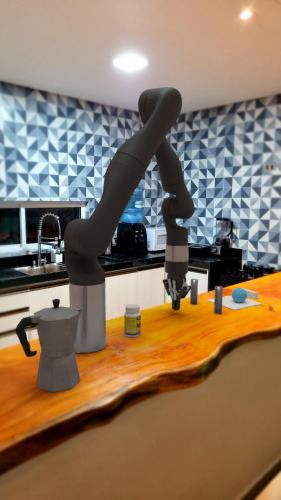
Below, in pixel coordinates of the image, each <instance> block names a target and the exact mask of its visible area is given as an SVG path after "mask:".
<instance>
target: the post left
mask: <svg viewBox="0 0 281 500" xmlns="http://www.w3.org/2000/svg"><path fill="white" fill-rule="evenodd" d="M190 286H191V289H190V291H189V293H190V294H189V295H190V296H189V297H190V298H189V303H190V305H193V306H196V305H198V295H199V290H198V287H199V279H197V278H191V279H190Z"/></svg>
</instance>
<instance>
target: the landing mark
mask: <svg viewBox="0 0 281 500" xmlns="http://www.w3.org/2000/svg"><path fill="white" fill-rule="evenodd" d="M214 300H215V298H210V299H206V301H208V302H210V303H213V304H214ZM258 305H259V306H261V305H263V303H261V302H257V301H255V300H253V299H250V298H246V300H245V301H244V302H241V303H238V302H235V301H234V300H233V298H232V294H231V295H226V296H223V298H222V307H224V308H228V309H230V310H232V311H233V310H234V311H236V310H241V309H246V308H251V307H255V306H258Z"/></svg>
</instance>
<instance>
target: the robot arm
mask: <svg viewBox="0 0 281 500" xmlns="http://www.w3.org/2000/svg"><path fill="white" fill-rule="evenodd" d="M182 107H183V98H182V94H181V92H180V91H179V90H178V89H177V88H175V87H172V86H164V87H157V88H149V89H148V88H147V89H145V90H143V91H142V92H141V93H140V95H139V97H138V102H137V108H138V114H139V117H140V120H141V123H142V127H141V128H140V129H139V130H138V131H136V132H135V133H134V134H133V135H132V136H130V137H128V139H127V140H126V141H125V142H123V143H122V144H121V145H120V146H119V147H118V149H117V150H116V151H115V153H114V155H113V157H112V158H111V160H110V161H109V164H108V165H107V167H106V169H105V172H104V180H103V188H102V193H101V197H100V199H99V201H98V203H97V205H96V206H95V208H94V210H93V211H92V213H91V215H90V216H89V217H88V218H81V217H80V218H76V219H75V218H74V219H73V220H71V221H70V222H69V223H68V224H67V226H66V227H65V230H64V235H63V250H64V251H63V253H64V254H63V255H64V266H65V271H66V273H67V275H68V292H69V293H68V296H69V297H68V298H69V299H68V300H69V301H68V302H69V307H80V308H82V309H84V310H83V311H82V312H81V314H80V316H79V320H78V328H77V335H76V343H75V344H74V351H75V354H79V353H95V352H99V351H101V350H103V349H105V348H106V346H107V317H106V316H107V315H106V314H107V313H106V310H107V308H106V306H107V305H106V302H107V301H106V298H107V297H106V271H105V270H104V268H103V267H102V266H101V265H100V263H99V261H98V257H100V256H101V255H103V254H104V253H105V252H106V251H107V250H108V248H109V247H110V244H111V243H112V241H113V238H114V235H115V233H116V231H117V228H118V226H119V223H120V221H121V219H122V217H123V214H124V212H125V210H126V208H127V206H128V205H129V203H130V201H131V199H132V196H133V195H134V192H135V190H136V189H137V188H138V186H139V184H140V183H141V181H142V179H143V178H144V176H145V173H146V171H147V170H148V167H149V165H150V163H151V162H152V161H153V158H154V157H155V160H156V164H157V165H156V166H157V168H158V169H157V170H158V175H159V179H160V182H161V187H162V190H163V192H165V193H166V194H169V195H172V196H167V197H165V198H164V199H163V200H162V202H161V205H160V210H161V216H162V219H163V223H164V227H165V233H166V235H165V236H166V239H165V240H166V241H165V243H166V244H165V255H164V259H165V260H164V261H165V262H164V264H165V265H164V272H165V273H166V274H167V275H166V278H164V279H162V283H163V286H164V289H165V292H166V294H167V296H169V297H170V299H171V310H173V311H175V312H176V311H180V310H181V300H182V299H186V297H187V296H188V294H189V293H190V290H191V285H188V283H187V278H186V277H187V276H186V275H187V274H188V273H189V256H190V255H189V253H190V251H189V230H188V228H187V227H186V226H182V225H180V224H178V223H177V221H176V220H190V219H191V218H192V217H193V215H194V214H195V210H196V209H195V202H194V199H193V197H192V195H191V193H190V191H189V189H188V186H187V184H186V183H185V176H184V172H183V171H184V170H183V166H182V163H181V160H180V158H179V156H178V154H177V153H176V151H175V149H174V148H173V147H172V146H171V144H170V142H169V141H168V138H167V137H166V136H168V133H169V132H171V129H172V128H173V127H174V125H175V123H176V122H177V120H178V118H179V117H180V115H181V112H182Z"/></svg>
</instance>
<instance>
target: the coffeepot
mask: <svg viewBox="0 0 281 500" xmlns="http://www.w3.org/2000/svg"><path fill="white" fill-rule="evenodd" d="M51 301H52V306H51V307H45V308H42V309H40V310H37V311H34V312H33V315H28V316H25V317H22V318H21V319H20V320H19V322H18V324H17V325H16V327H15V334H16V337H17V339H18V340H19V341H18V342H19V343H20V345H21V348H22V350H23V352H24V355H25V356H26V358H32V357H35V356H36V355H37V354H38V351H37V350H33V351H32V350H31V344H30V342H29V340H28V336H27V333H26V330H25V329H26V328H27V327H34V326H36V331H37V336H38V341H39V342H38V343H39V346H40V348H41V350H40V351H41V352H40V353H39V361H38V368H37V375H36V382H37V383H38V384H37V387H38V388H39V389H40V390H42V391H44V392H49V393H50V392H51V393H58V392H60V393H61V392H64V391H68V390H71V389H72V388H74V387H75V386H77V385H78V383H79V382H80V381H81V378H80V377H81V376H80V371H79V366H78V361H77V355H76V352H75V351H74V344H75V343H76V335H77V328H78V320H79V316H80V314H81V312H82V311H83V310H84V309H82V308H80V307H70V306H60V303H61V300H60V299H59V298H54V299H52V300H51Z"/></svg>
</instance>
